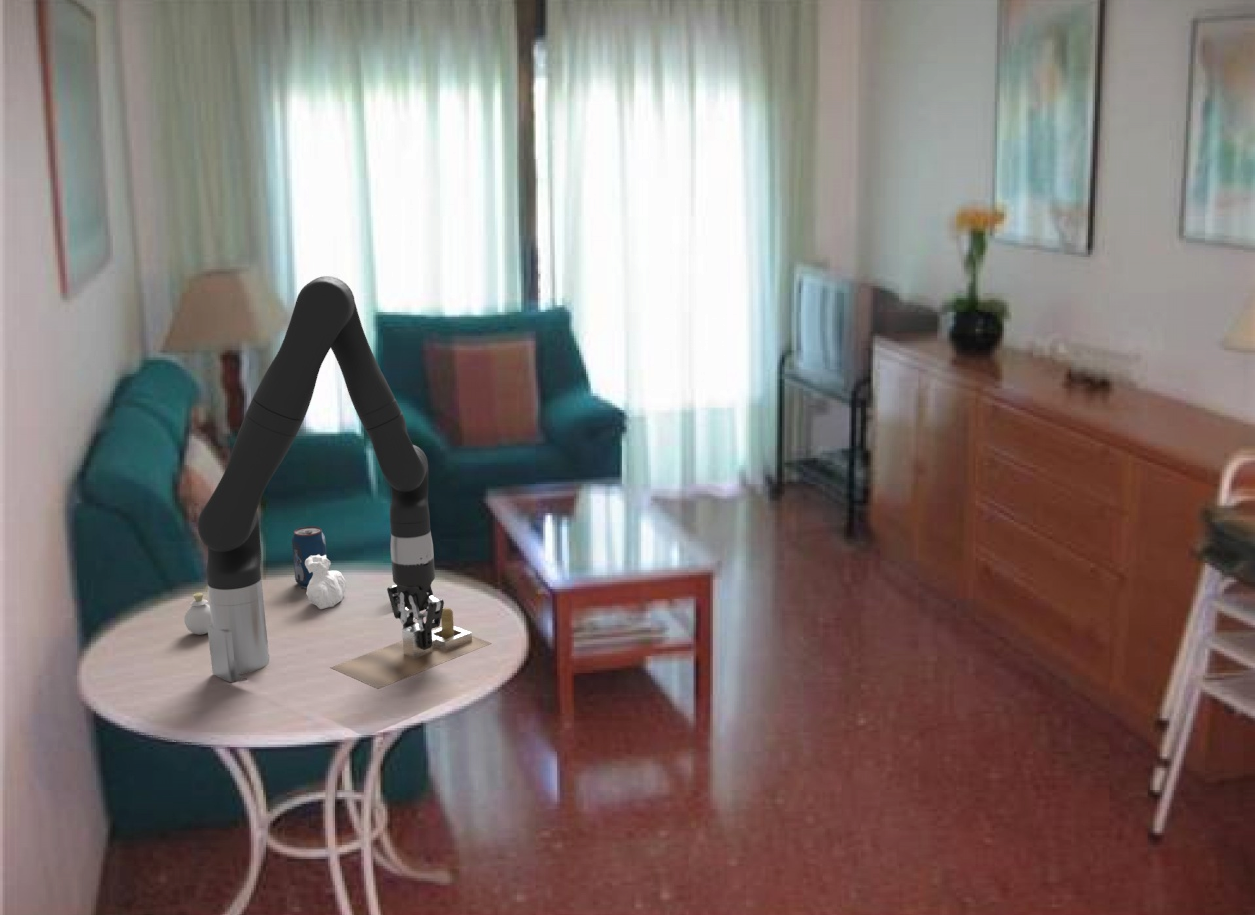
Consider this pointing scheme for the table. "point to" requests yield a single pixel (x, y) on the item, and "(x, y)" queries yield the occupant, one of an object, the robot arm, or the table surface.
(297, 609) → the table surface
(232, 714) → the table surface
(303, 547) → the soda can
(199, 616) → the white potion bottle
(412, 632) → the steel link
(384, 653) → the board
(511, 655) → the table surface
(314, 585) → the white tied bag
